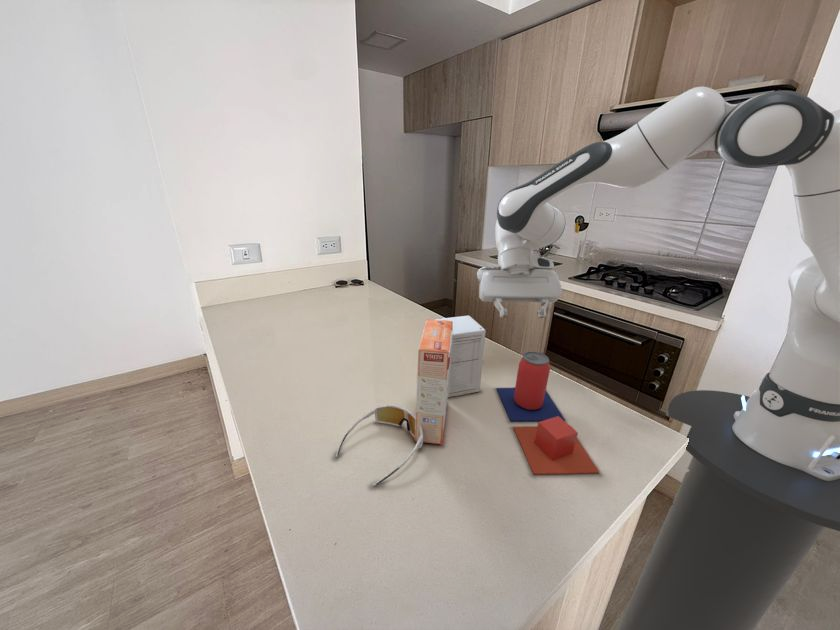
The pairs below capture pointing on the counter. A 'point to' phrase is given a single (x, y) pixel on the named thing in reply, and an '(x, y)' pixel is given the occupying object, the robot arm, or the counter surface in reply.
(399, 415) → the sunglasses
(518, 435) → the terracotta mat
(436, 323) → the cracker box
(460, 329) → the supplement box
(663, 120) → the robot arm
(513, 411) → the navy mat
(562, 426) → the red block
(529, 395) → the beer can
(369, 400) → the counter surface
